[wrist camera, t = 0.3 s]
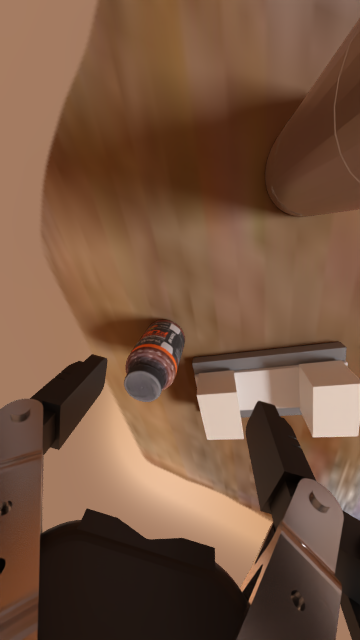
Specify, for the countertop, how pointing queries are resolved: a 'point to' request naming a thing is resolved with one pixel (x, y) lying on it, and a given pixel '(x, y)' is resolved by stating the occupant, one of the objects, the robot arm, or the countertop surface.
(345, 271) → the countertop surface
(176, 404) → the countertop surface
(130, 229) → the countertop surface
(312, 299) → the countertop surface
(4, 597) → the robot arm
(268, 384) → the rail board
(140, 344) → the supplement bottle
